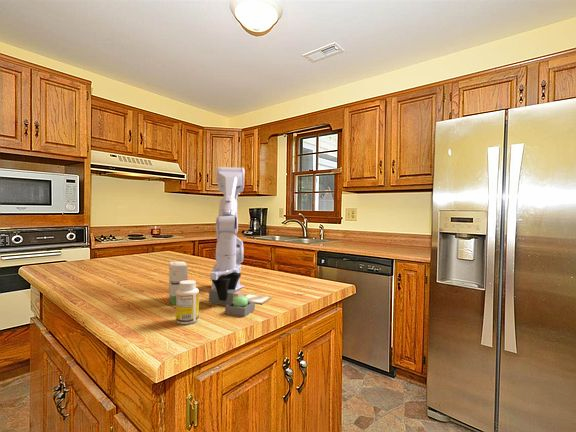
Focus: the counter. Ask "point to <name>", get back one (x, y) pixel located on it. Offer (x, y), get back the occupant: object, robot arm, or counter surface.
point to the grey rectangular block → (226, 298)
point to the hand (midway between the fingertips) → (226, 298)
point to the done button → (240, 301)
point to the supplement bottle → (187, 302)
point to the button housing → (240, 309)
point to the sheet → (257, 299)
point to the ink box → (176, 278)
